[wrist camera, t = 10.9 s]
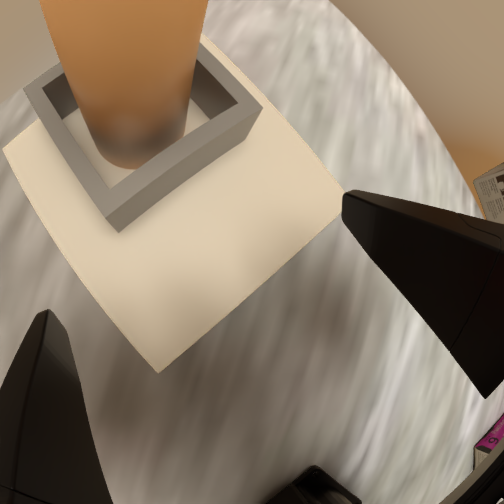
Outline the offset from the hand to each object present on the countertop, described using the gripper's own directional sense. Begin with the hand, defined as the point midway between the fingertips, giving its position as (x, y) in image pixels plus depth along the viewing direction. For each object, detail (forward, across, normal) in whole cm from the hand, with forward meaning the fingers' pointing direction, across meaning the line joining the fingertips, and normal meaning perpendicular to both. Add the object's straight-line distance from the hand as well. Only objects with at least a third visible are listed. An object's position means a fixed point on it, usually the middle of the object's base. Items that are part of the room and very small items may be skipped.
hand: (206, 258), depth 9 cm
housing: (+10, -1, +2) cm, 10 cm away
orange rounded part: (+11, 0, -1) cm, 11 cm away
